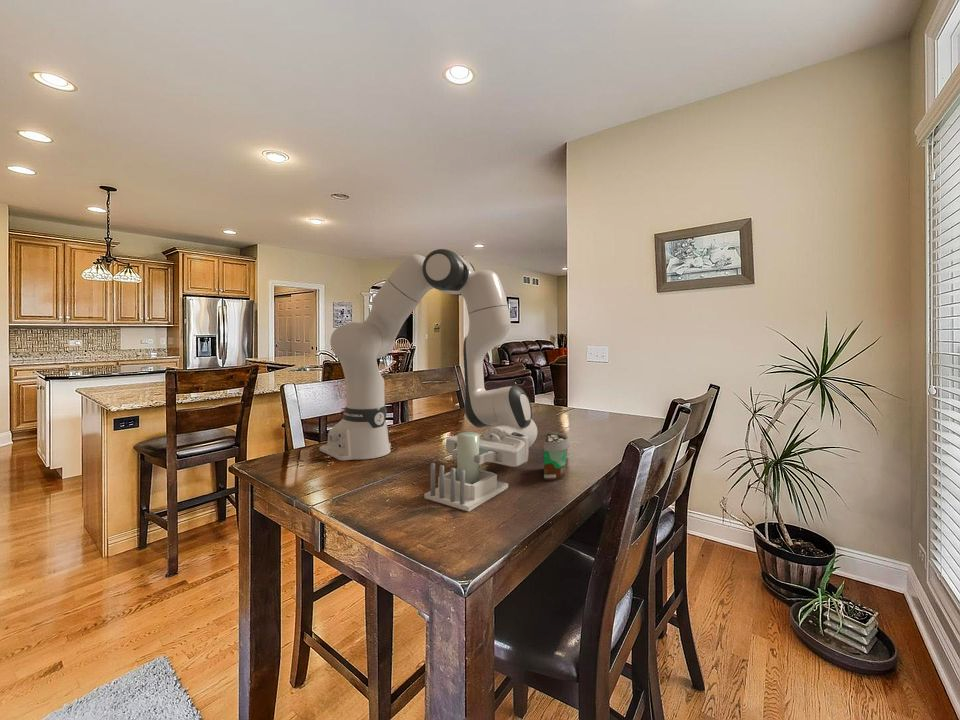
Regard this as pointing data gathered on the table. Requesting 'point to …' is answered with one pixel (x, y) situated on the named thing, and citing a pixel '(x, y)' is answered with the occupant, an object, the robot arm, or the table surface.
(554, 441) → the food container
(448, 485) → the dish rack
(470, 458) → the pale green canister
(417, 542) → the table surface
